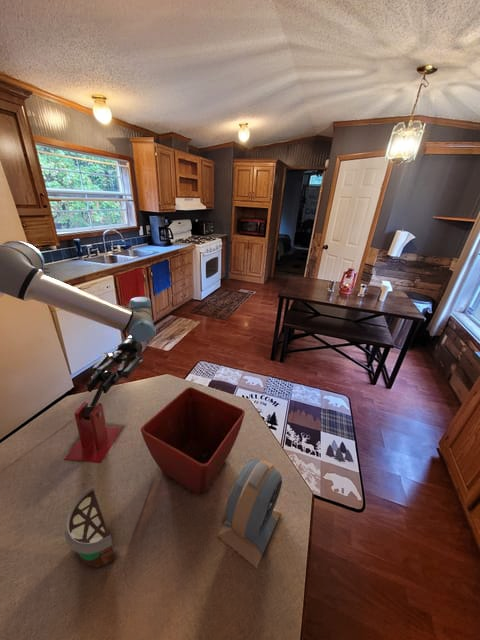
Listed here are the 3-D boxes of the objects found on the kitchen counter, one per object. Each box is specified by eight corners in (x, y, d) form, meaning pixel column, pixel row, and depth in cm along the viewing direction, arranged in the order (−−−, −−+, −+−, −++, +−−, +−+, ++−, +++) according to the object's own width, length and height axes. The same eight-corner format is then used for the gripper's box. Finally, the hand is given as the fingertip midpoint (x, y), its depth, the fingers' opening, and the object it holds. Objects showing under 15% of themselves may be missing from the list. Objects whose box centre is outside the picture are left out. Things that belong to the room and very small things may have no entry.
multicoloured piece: (67, 533, 53) (57, 503, 49) (99, 513, 57) (92, 484, 53) (81, 596, 45) (71, 566, 41) (117, 567, 49) (111, 537, 45)
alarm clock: (254, 573, 50) (265, 519, 43) (214, 540, 54) (218, 486, 47) (282, 509, 61) (294, 458, 54) (247, 486, 66) (254, 436, 59)
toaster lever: (105, 374, 78) (101, 368, 76) (116, 375, 78) (113, 369, 76) (83, 420, 69) (77, 415, 66) (96, 421, 69) (91, 416, 66)
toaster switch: (90, 427, 79) (83, 391, 73) (122, 430, 79) (117, 394, 73) (64, 462, 68) (53, 423, 62) (101, 465, 68) (94, 427, 62)
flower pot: (143, 476, 66) (138, 428, 59) (189, 427, 82) (189, 385, 75) (203, 517, 58) (205, 467, 52) (241, 455, 74) (246, 410, 67)
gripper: (155, 358, 94) (127, 402, 72) (111, 354, 94) (69, 396, 72) (154, 340, 91) (124, 380, 69) (108, 336, 91) (64, 374, 69)
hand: (96, 388), depth 71 cm, fingers closed on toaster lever, 4 cm apart
